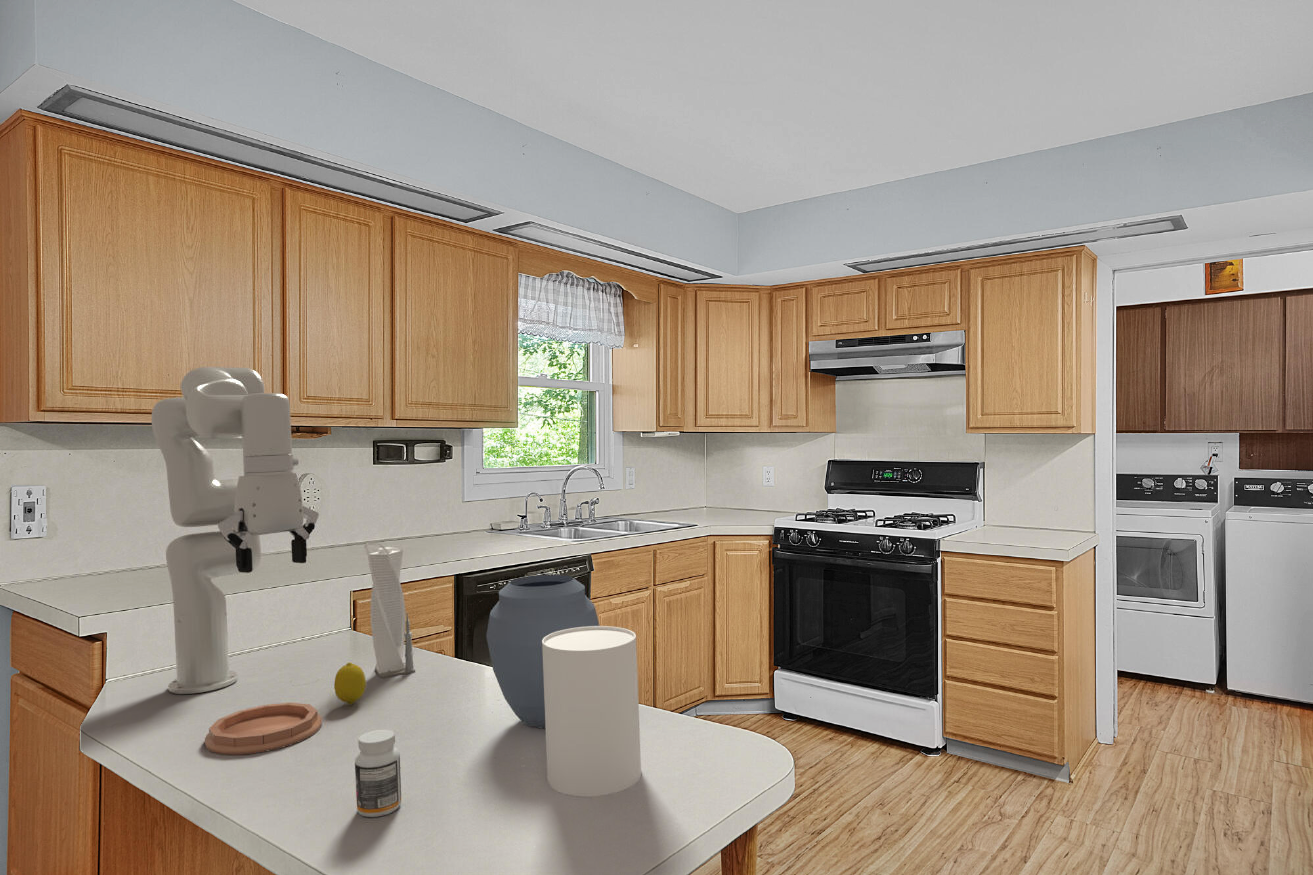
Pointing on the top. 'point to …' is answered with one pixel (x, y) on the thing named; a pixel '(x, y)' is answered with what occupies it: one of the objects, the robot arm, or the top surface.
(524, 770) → the top surface
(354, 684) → the lemon
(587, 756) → the canister
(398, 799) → the pill bottle
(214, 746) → the dish
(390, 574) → the skyscraper
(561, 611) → the vase
